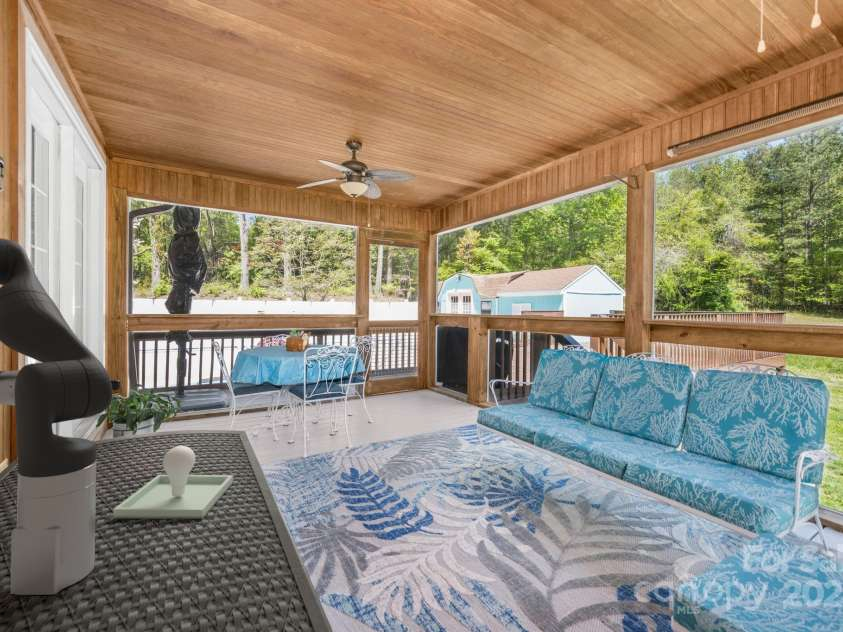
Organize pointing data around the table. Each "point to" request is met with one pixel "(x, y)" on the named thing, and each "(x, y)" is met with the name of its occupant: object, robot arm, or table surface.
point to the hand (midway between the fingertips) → (107, 388)
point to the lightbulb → (178, 468)
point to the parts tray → (175, 498)
